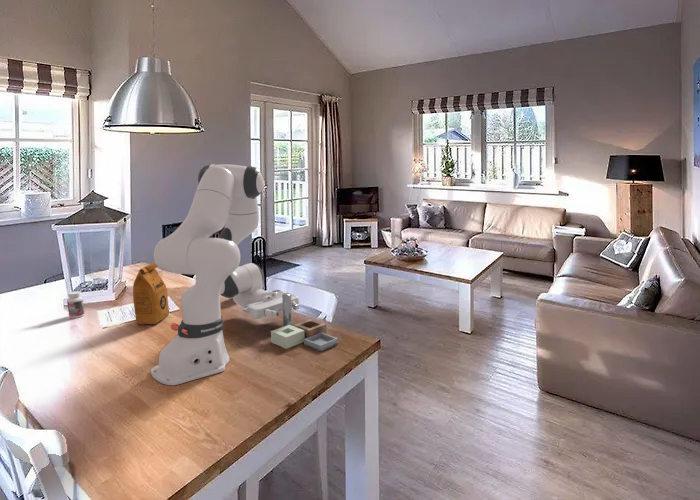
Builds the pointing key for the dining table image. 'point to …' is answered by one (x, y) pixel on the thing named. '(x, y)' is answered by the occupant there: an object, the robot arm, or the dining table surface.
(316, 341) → the tray
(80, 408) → the dining table surface
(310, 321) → the brown wooden square frame
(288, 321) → the cylinder
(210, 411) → the dining table surface
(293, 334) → the sage block
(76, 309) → the pill bottle
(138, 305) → the coffee package
